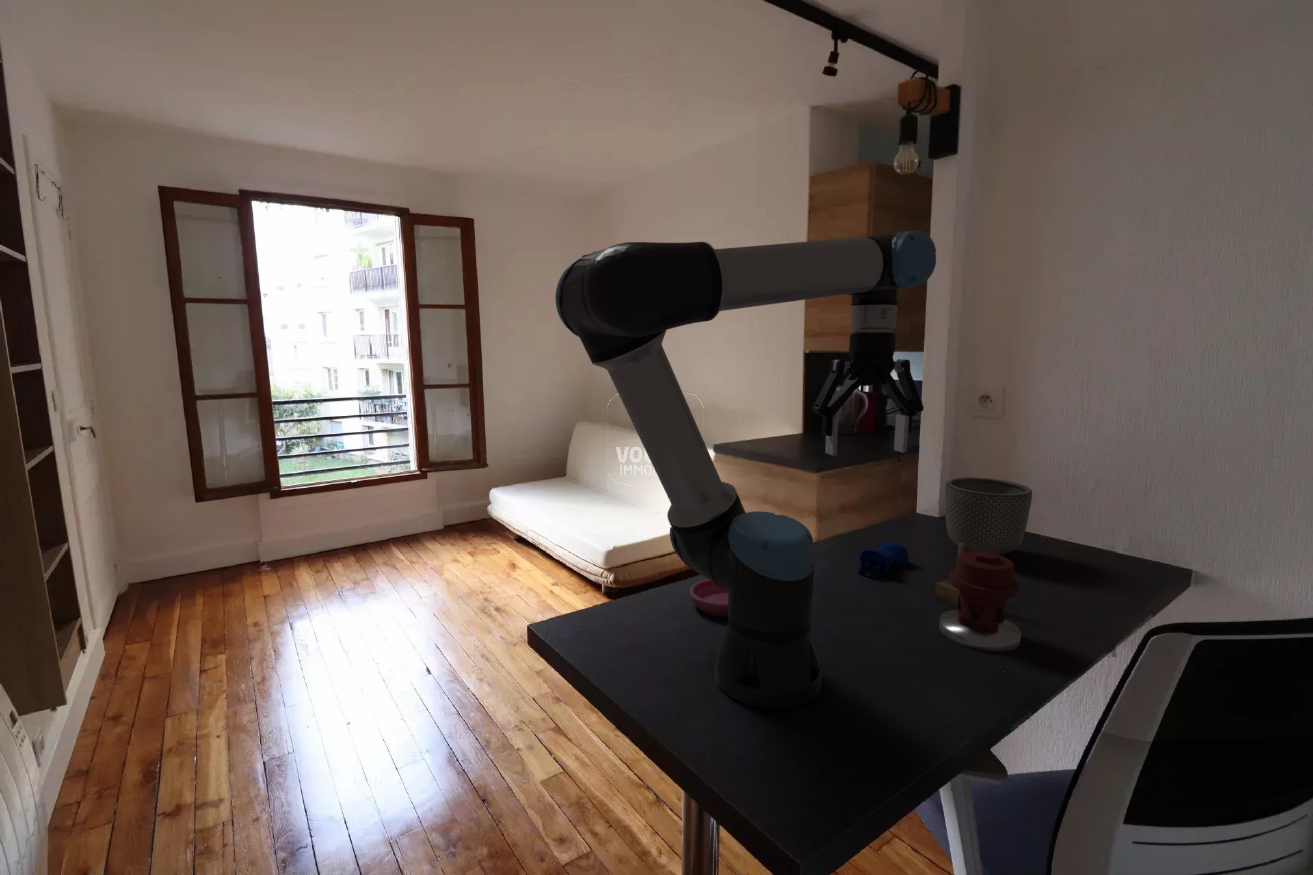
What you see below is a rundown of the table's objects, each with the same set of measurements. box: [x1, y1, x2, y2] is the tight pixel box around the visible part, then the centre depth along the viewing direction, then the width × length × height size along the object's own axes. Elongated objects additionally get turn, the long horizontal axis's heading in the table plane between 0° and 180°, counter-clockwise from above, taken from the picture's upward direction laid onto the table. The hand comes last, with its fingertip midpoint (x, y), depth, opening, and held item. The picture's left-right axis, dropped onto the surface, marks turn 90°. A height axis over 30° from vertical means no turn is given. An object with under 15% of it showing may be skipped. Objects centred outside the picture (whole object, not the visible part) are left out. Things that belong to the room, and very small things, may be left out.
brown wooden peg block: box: [934, 543, 970, 609], centre depth 114 cm, size 6×6×11 cm
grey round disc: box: [938, 609, 1022, 653], centre depth 102 cm, size 12×12×2 cm
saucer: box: [689, 579, 728, 618], centre depth 113 cm, size 12×12×3 cm
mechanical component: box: [949, 550, 1020, 633], centre depth 101 cm, size 12×10×10 cm
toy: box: [857, 541, 909, 581], centre depth 131 cm, size 7×6×15 cm
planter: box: [944, 477, 1033, 557], centre depth 139 cm, size 17×17×16 cm
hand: (865, 452), depth 109 cm, fingers open, 13 cm apart
